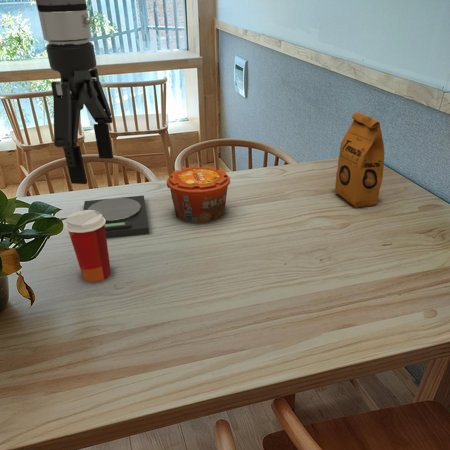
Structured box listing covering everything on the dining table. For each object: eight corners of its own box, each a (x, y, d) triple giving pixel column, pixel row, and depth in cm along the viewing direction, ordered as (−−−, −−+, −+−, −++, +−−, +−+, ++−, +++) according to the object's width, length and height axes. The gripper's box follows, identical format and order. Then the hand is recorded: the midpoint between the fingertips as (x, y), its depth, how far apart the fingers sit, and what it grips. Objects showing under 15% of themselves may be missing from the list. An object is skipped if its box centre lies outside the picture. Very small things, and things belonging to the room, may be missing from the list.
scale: (82, 244, 107) (79, 231, 105) (86, 209, 123) (83, 197, 121) (149, 236, 109) (147, 224, 107) (144, 203, 125) (143, 192, 123)
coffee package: (349, 210, 119) (362, 124, 106) (329, 192, 129) (339, 112, 116) (383, 206, 121) (400, 121, 108) (361, 189, 131) (374, 109, 118)
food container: (241, 219, 116) (241, 179, 110) (185, 234, 110) (182, 193, 103) (212, 198, 127) (211, 161, 121) (160, 210, 121) (156, 172, 115)
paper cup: (103, 264, 99) (91, 205, 91) (123, 277, 95) (112, 216, 86) (71, 278, 95) (55, 217, 87) (90, 292, 90) (75, 230, 82)
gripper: (56, 52, 62) (87, 196, 75) (116, 33, 82) (132, 149, 95) (6, 52, 63) (44, 194, 76) (78, 33, 83) (99, 148, 96)
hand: (93, 169), depth 85 cm, fingers open, 13 cm apart
